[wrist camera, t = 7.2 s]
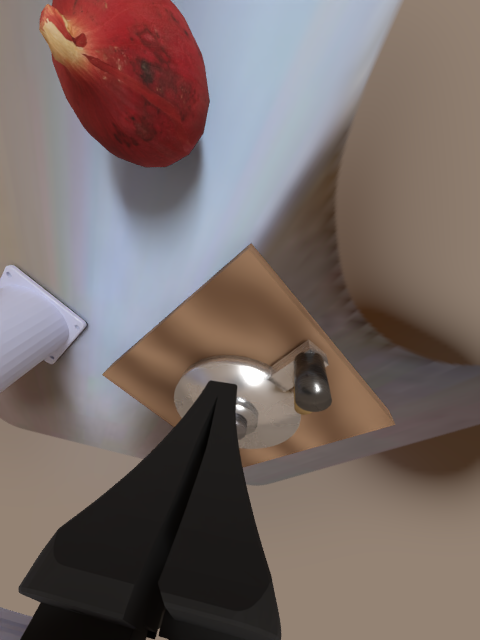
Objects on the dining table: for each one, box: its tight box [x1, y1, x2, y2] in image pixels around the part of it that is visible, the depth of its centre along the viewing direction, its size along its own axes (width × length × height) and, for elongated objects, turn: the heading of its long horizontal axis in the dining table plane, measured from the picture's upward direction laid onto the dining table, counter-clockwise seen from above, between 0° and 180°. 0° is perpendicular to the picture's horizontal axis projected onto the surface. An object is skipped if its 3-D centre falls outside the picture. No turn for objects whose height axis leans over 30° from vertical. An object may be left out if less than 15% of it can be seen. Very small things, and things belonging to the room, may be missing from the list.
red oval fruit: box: [39, 0, 210, 167], centre depth 10 cm, size 6×6×8 cm
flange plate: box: [174, 339, 332, 449], centre depth 20 cm, size 16×12×4 cm
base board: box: [102, 244, 395, 467], centre depth 22 cm, size 21×21×5 cm
